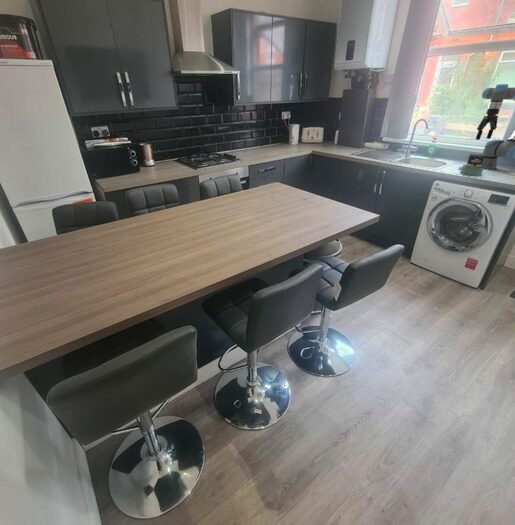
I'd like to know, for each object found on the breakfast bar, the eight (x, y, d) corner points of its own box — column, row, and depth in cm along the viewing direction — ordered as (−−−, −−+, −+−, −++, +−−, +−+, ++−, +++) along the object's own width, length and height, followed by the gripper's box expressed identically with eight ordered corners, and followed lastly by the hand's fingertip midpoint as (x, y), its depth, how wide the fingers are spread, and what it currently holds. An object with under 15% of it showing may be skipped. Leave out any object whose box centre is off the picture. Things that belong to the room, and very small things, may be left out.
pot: (465, 171, 250) (468, 163, 247) (484, 174, 239) (487, 166, 236) (456, 173, 243) (459, 165, 240) (475, 176, 232) (478, 169, 229)
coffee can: (478, 175, 235) (485, 157, 228) (463, 173, 239) (470, 155, 232) (477, 172, 243) (484, 154, 236) (463, 171, 247) (469, 153, 240)
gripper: (489, 108, 210) (477, 140, 220) (509, 108, 219) (497, 138, 229) (478, 108, 215) (468, 139, 226) (498, 107, 225) (487, 137, 235)
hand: (482, 139), depth 228 cm, fingers open, 13 cm apart
